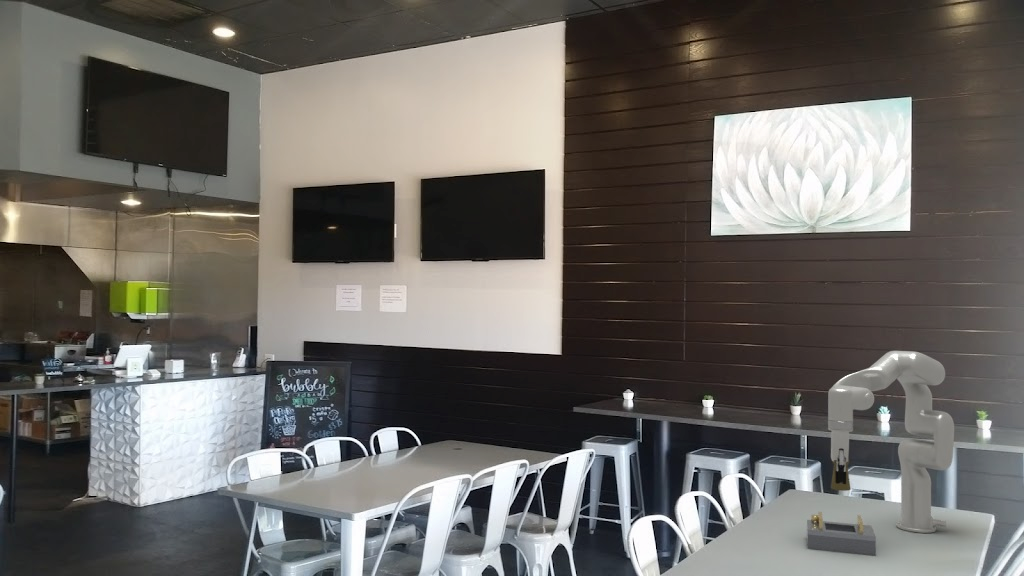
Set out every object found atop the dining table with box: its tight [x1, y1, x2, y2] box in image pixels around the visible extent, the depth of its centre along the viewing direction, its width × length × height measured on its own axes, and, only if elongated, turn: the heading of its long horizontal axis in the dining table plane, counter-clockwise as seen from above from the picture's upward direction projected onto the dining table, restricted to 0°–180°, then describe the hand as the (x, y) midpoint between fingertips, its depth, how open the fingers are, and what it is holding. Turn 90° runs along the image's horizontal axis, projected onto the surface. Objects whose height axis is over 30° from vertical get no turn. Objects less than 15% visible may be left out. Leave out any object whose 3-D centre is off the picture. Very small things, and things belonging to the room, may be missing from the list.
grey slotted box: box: [806, 511, 877, 557], centre depth 262 cm, size 20×14×10 cm
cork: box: [830, 457, 852, 491], centre depth 262 cm, size 6×6×11 cm
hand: (840, 481), depth 262 cm, fingers closed on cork, 4 cm apart
